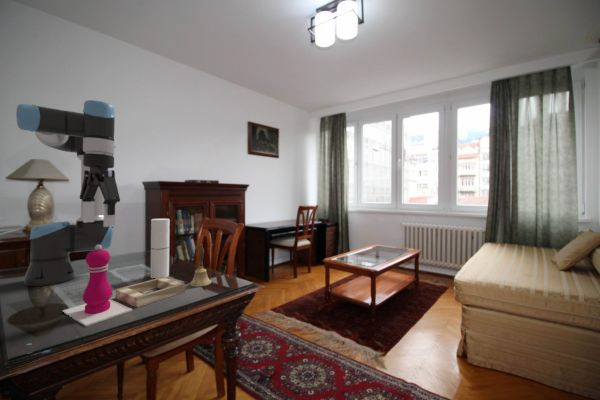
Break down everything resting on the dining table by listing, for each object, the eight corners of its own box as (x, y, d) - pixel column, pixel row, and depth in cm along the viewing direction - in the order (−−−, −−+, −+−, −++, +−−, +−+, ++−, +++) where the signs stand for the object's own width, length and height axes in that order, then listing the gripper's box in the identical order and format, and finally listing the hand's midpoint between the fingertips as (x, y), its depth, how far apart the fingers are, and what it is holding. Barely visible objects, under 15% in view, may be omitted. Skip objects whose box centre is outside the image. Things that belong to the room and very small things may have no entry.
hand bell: (187, 287, 104) (188, 246, 104) (191, 280, 113) (192, 242, 112) (210, 286, 106) (210, 246, 106) (212, 279, 114) (213, 242, 114)
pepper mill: (96, 316, 78) (96, 247, 77) (76, 313, 79) (76, 246, 79) (117, 306, 85) (118, 243, 84) (99, 303, 86) (99, 242, 86)
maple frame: (115, 297, 92) (115, 289, 92) (162, 284, 107) (162, 276, 107) (137, 307, 85) (137, 298, 85) (184, 291, 100) (184, 283, 100)
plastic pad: (62, 312, 81) (62, 310, 81) (107, 299, 91) (107, 297, 91) (85, 326, 73) (85, 324, 73) (132, 310, 83) (132, 309, 83)
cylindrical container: (150, 279, 113) (150, 220, 112) (150, 274, 119) (151, 218, 118) (169, 277, 116) (169, 219, 115) (168, 272, 122) (169, 218, 122)
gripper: (134, 154, 78) (133, 226, 78) (94, 157, 91) (94, 219, 91) (104, 150, 71) (103, 229, 72) (66, 154, 84) (66, 221, 85)
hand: (98, 224), depth 82 cm, fingers open, 13 cm apart
